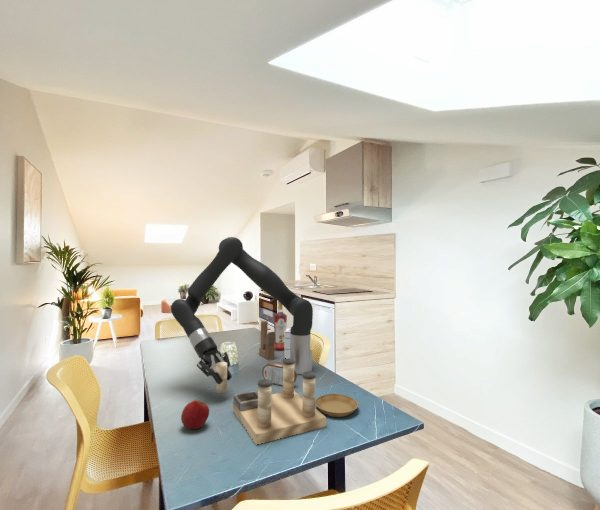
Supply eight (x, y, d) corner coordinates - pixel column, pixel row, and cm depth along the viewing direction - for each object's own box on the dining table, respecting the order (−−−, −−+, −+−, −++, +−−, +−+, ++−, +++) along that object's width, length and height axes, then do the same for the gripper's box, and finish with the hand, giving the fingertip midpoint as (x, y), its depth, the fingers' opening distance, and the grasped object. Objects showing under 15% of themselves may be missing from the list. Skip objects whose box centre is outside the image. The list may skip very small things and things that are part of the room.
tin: (297, 386, 137) (297, 365, 137) (293, 389, 134) (293, 368, 134) (265, 380, 143) (265, 360, 143) (261, 382, 140) (261, 362, 140)
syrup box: (295, 359, 171) (295, 331, 171) (283, 358, 172) (284, 330, 172) (297, 356, 176) (297, 328, 176) (286, 355, 178) (286, 328, 178)
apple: (201, 435, 99) (202, 408, 99) (176, 432, 101) (176, 405, 101) (212, 422, 107) (213, 397, 107) (189, 419, 108) (189, 395, 108)
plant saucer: (362, 405, 120) (362, 398, 120) (351, 424, 107) (351, 416, 107) (323, 397, 127) (323, 390, 127) (308, 414, 113) (308, 407, 113)
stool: (293, 398, 125) (293, 355, 125) (325, 426, 105) (326, 376, 105) (232, 410, 115) (233, 364, 115) (256, 445, 94) (256, 389, 94)
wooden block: (268, 360, 169) (268, 324, 169) (258, 354, 178) (259, 320, 178) (274, 359, 171) (275, 324, 171) (265, 353, 180) (265, 320, 180)
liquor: (285, 347, 193) (286, 298, 193) (287, 350, 186) (287, 300, 186) (272, 347, 192) (273, 298, 192) (274, 351, 185) (274, 300, 185)
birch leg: (225, 387, 126) (225, 361, 126) (228, 391, 123) (228, 364, 122) (214, 389, 124) (214, 362, 124) (217, 393, 121) (217, 366, 121)
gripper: (192, 341, 121) (216, 381, 115) (221, 333, 133) (244, 369, 127) (182, 353, 124) (205, 393, 118) (212, 344, 136) (233, 380, 130)
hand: (225, 380), depth 122 cm, fingers closed on birch leg, 4 cm apart
